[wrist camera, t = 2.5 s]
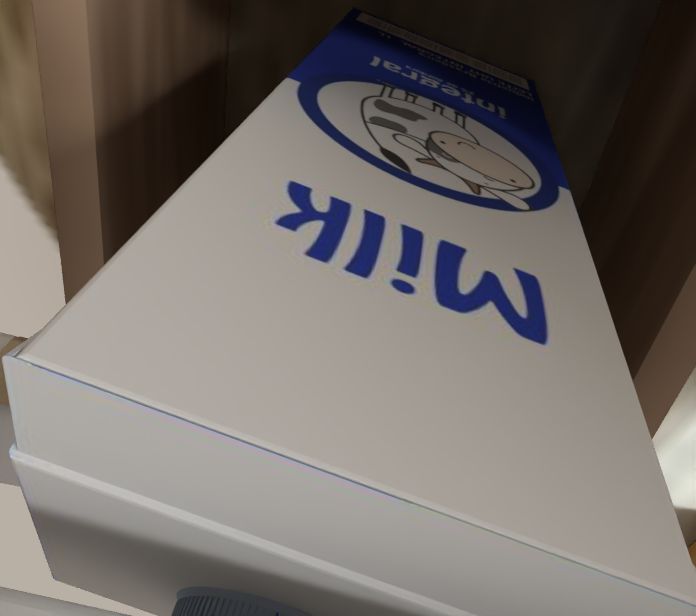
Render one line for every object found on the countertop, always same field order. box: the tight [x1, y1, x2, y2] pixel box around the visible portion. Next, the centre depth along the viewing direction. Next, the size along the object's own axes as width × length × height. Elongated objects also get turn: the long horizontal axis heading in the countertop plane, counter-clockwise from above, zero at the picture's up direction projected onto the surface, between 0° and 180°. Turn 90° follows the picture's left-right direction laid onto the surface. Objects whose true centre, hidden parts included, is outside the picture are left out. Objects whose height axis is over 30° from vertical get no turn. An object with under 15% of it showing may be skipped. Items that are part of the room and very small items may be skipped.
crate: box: [32, 0, 696, 439], centre depth 20 cm, size 16×16×10 cm
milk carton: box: [2, 7, 696, 616], centre depth 16 cm, size 7×7×20 cm
